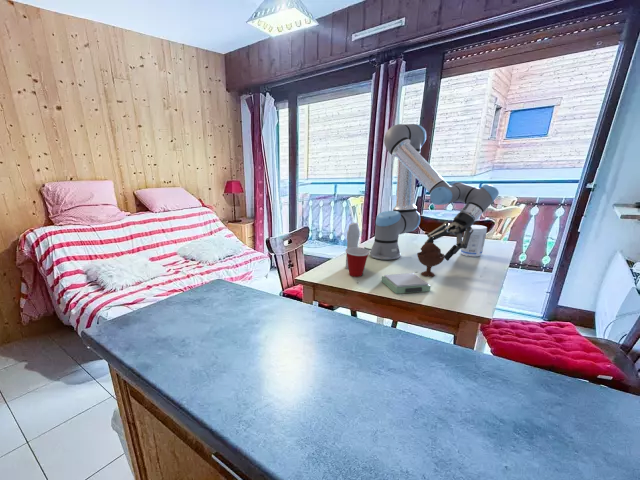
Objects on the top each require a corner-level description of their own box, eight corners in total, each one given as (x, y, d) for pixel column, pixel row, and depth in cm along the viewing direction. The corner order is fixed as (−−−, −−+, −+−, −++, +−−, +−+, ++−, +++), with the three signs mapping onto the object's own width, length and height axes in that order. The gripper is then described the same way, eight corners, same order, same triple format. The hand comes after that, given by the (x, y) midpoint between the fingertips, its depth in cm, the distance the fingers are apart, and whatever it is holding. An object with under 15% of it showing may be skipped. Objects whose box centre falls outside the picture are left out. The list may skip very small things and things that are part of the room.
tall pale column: (353, 262, 169) (355, 220, 161) (360, 264, 167) (363, 221, 158) (342, 267, 163) (344, 224, 154) (349, 269, 160) (351, 225, 152)
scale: (381, 281, 144) (382, 274, 142) (412, 279, 144) (413, 272, 143) (396, 294, 130) (397, 287, 129) (431, 292, 130) (432, 284, 129)
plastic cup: (355, 280, 146) (357, 255, 141) (339, 274, 155) (340, 249, 150) (373, 275, 150) (375, 250, 146) (356, 269, 159) (358, 245, 155)
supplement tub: (471, 251, 176) (476, 224, 170) (486, 255, 167) (492, 227, 162) (455, 253, 174) (460, 225, 169) (470, 258, 166) (476, 229, 160)
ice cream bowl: (439, 280, 141) (444, 246, 135) (411, 276, 147) (416, 243, 141) (443, 273, 148) (449, 241, 143) (417, 269, 155) (421, 238, 149)
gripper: (497, 227, 133) (460, 267, 135) (447, 218, 155) (417, 252, 157) (489, 215, 129) (452, 256, 132) (440, 207, 152) (409, 243, 154)
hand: (433, 254), depth 144 cm, fingers open, 13 cm apart
